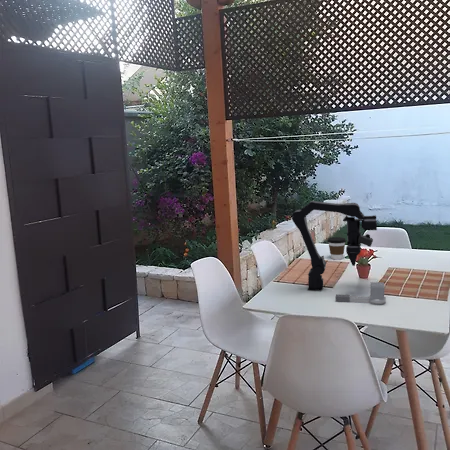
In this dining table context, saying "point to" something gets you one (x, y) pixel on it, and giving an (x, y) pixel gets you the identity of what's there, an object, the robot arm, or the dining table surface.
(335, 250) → the coffee cup
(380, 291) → the gray block
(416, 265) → the dining table surface
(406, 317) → the dining table surface
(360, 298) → the gray handled tool
